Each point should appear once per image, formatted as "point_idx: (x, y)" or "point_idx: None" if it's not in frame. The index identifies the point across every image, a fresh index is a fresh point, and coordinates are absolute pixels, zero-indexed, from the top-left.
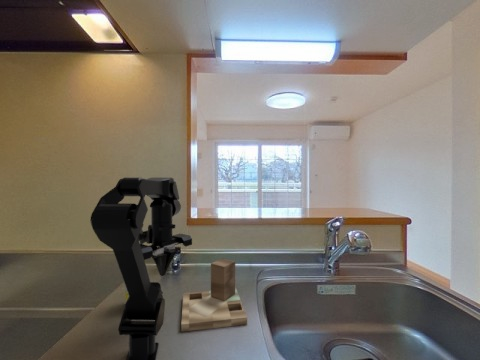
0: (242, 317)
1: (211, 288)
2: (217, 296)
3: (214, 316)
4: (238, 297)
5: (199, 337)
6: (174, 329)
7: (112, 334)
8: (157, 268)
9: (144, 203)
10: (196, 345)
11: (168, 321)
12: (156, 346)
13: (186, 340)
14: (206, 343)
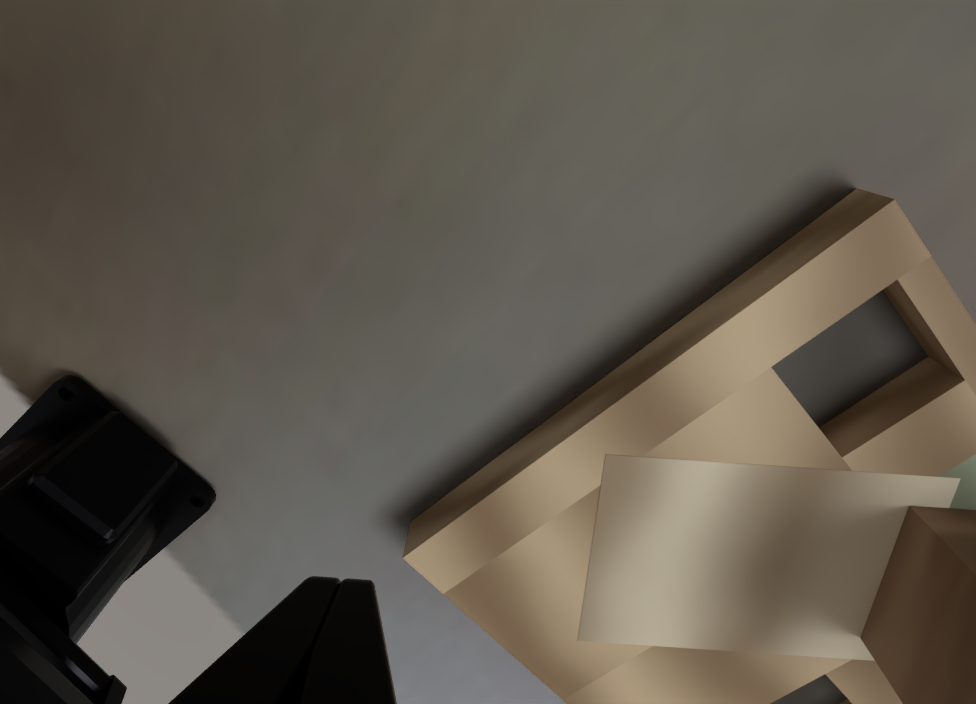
0: None
1: (964, 574)
2: (897, 595)
3: (617, 680)
4: None
5: (433, 639)
6: (402, 465)
7: (32, 80)
8: (183, 691)
9: None
10: None
11: (452, 354)
12: (183, 517)
13: None
14: (414, 694)
